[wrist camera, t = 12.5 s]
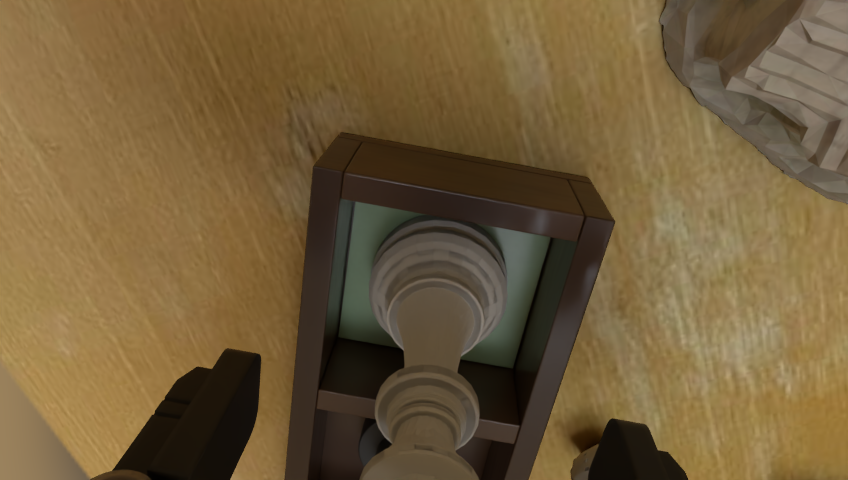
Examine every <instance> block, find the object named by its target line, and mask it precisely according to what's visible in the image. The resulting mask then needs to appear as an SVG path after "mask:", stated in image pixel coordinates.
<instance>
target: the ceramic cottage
mask: <svg viewBox="0 0 848 480" xmlns="http://www.w3.org/2000/svg"><path fill="white" fill-rule="evenodd" d="M659 21H660V24H662V25H664V30H663V32H662V33H663V39H664V49H665V51H666V53H667V58H666V60H667V61H668V63H669V64H670V67H671V69H672V70H673V71H674V72H675V73H676V76H677V77H678V79H679V80H680V81H681V83H682V84H683V85H684V86H686V87H689V88H691V90H692V92H693V94H694V96H695V98H696V100H697V101H698V102H699V103H700V104H701V106H707V107H708V108H709V109H710V110H711V111H712V112H714V113H715V114H716V115H718V116H719V117H721V119H722V120H723V122H724V123H725V124H727V125H729V126H730V127H731V128H732V129H733V130H734V131H735V132H736V133H738V134H739V135H741V136H742V137H743V138H745V139H746V140H748V141H749V142H750V143H752V144H753V145H755V146H756V147H757V149H758V151H760V152H761V153H763V154H764V155H766V156H767V158H768V159H769V161H770V162H771V163H772V164H773V165H775V166H777V167H779V168H780V170H784V174H788V175H789V177H791V178H795V179H797V180H799V181H801V182H803V183H804V184H805V185H806V186H808V187H810V188H812V189H814V190H815V191H817V192H819V193H821V194H822V195H823V196H825V197H826V198H828V199H832V200H836V201H840V202H844V203H846V204H848V0H667V2H666V8H665V9H664V11H663V13H662V15H661V17H660V20H659Z"/></svg>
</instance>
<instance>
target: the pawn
mask: <svg viewBox="0 0 848 480" xmlns="http://www.w3.org/2000/svg"><path fill="white" fill-rule="evenodd" d="M391 445H392V443H391V442H390V441H388V440H387V439H386V438H385V437H384V435H383V434H382V432H381V431H380V429H379V428H378V425H377V422H376V419H371V418H366V419H365V421H364V423H363V427H362V432H361V436H360V440H359V445H358V452H359V457H360V460H361V462H362V464H363V466H364V467H365V466H366V464H367V463H368V462H369V461H370V460H371V459H372V458H373V457H374V456H375V455H377V454H379V453H380V452H382V451H383V450H385V449H387V448H389V447H390V446H391Z"/></svg>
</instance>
